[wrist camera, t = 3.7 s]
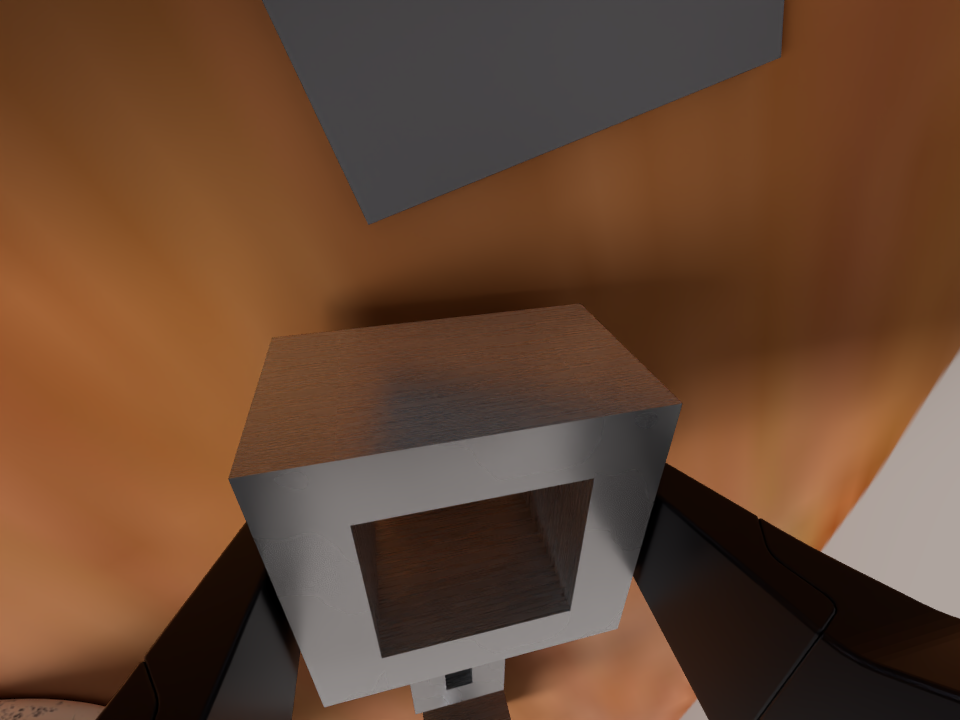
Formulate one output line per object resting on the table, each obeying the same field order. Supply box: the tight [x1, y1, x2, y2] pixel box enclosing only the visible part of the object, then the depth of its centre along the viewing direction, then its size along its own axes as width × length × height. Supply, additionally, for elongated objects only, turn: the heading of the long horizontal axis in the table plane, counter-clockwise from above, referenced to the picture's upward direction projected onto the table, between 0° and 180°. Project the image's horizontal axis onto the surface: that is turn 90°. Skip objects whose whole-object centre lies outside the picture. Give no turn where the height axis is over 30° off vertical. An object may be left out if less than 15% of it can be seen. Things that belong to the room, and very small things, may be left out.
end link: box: [228, 304, 682, 707], centre depth 9 cm, size 6×6×4 cm
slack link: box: [410, 659, 505, 714], centre depth 14 cm, size 4×3×2 cm
